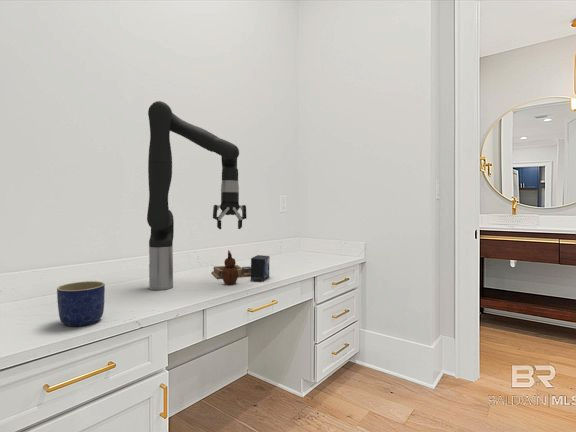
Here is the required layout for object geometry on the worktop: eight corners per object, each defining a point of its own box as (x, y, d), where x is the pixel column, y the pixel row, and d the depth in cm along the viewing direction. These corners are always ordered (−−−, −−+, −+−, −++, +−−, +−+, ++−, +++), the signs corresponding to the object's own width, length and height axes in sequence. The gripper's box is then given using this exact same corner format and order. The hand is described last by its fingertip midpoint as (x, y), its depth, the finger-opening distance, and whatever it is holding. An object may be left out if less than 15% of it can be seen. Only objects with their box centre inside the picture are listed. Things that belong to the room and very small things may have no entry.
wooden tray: (217, 279, 172) (217, 271, 172) (211, 273, 185) (211, 266, 185) (258, 275, 180) (258, 268, 180) (250, 270, 193) (250, 263, 192)
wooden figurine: (230, 286, 158) (229, 250, 157) (219, 284, 161) (219, 249, 160) (240, 283, 163) (240, 249, 163) (230, 281, 166) (230, 248, 166)
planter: (47, 326, 108) (46, 288, 107) (84, 313, 119) (84, 279, 119) (79, 331, 103) (78, 292, 103) (114, 318, 115) (114, 283, 114)
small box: (264, 282, 166) (264, 258, 166) (250, 281, 167) (250, 258, 167) (270, 277, 176) (270, 255, 176) (256, 276, 178) (256, 254, 177)
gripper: (215, 190, 154) (215, 230, 155) (248, 191, 160) (248, 229, 161) (211, 191, 161) (211, 228, 162) (243, 191, 167) (243, 228, 168)
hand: (229, 229), depth 161 cm, fingers open, 8 cm apart
